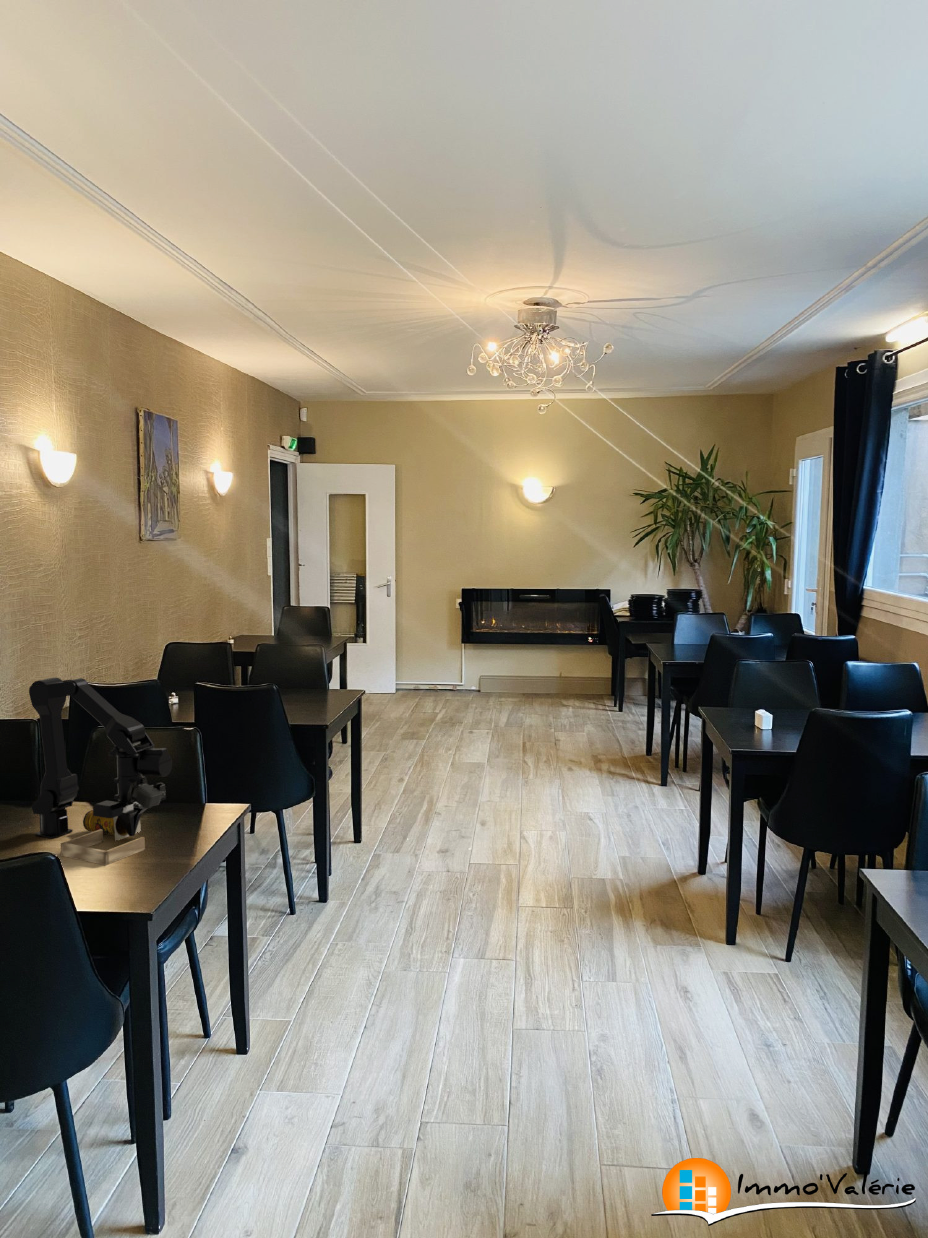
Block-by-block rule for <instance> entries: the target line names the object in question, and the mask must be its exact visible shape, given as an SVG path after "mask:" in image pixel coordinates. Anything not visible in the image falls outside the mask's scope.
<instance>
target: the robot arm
mask: <svg viewBox="0 0 928 1238" xmlns="http://www.w3.org/2000/svg"><path fill="white" fill-rule="evenodd" d="M28 694H29V699H30V703H31V706H32V708H33V709H34V710H35V711H36V713H37V714H38V715H39V722H40V731H41V738H42V741H41V742H42V747H43V748H42V750H43V757H44V765H45V766H44V768H45V773H44V776H43V778H42V781H41V783H40V796H38V798H37V799H36V800H35V801H34V802H33V803H32V805H31V809H32V812H33V814H34V815H39V831H37V832H35V833H34V836H37V837H42V838H46V839H47V838H48V839H55V838H58V837H60V836H64V835H67V834H70V833H73V830H74V829H73V828H69V818H68V817H69V816H68V810H67V808H69V807H72V806H73V803H74V799H75V798H76V797H77V796H78V790H80V787H79V784H78V778H79V777H78V774H77V773H71V771H70V770H69V768H68V764H67V756H66V755H67V753H66V747H65V746H66V745H65V739H64V738H65V737H64V727H63V719H62V717H63V716H62V712H63V710H64V707H65V704H66V701H67V697H71V698H73V700H74V701H75V702H76V703H77V704H79V705H80V707H82V708H83V709H84V710H85V711H87V713H89V714H90V716H92V717H93V718H94V719H95V720H96V721H97V722H99V724H100V725H101V726H102V727H103V728H104V730H105V733H106V736H107V738H108V739H109V740H110V742H111V743H112V744H113V745H114V747H113V749H112V750H110V752H108V756H110V757H116V769H117V770H116V771H117V772H116V773H117V777H116V778H113V783H114V784H117V794H114V797H113V798H114V800H117V801H112V800H108V799H107V800H103V801H101V802H98V803H95V804H94V806H93V807H92V810H93V816H98V817H104V818H114V817H118V818H119V819H120V821H121V822H122V824H123V826H124V828H125V830H126V831H127V833H128V835H129V836H128V837H133V836H135V835H136V834H135V832H136V829H137V826H138V823H139V820H140V821H141V817H142V815H143V813H144V812H145V811H146V810H147V809H151V808H152V807H155V806H159V805H160V803H161V802H162V801H164V800H167V791H166V790H167V789H166V784H164V782H158V783H156V784H151V785H150V784H148V779H147V776H150V777H162V778H163V777H168V776H169V775H170V773H171V771H172V768H173V763H174V761H173V759H172V757H171V755H170V753H169V752H168V749H167V748H166V747H161V748H158V747H157V748H156V746H155V744H154V743H153V740H151V738H150V736H149V735H148V733H147V732H146V728H145V726H144V725H143V723H141V722H139V721H138V720H137V719H135V718H134V717H132V716H129V715H126V714H123V713H121V712H120V711H118V710H117V709H116V708H115V707H114V705H112V704H111V703H109V702H108V701H107V700H106V699H105V697H103V696H101V695H100V694H99V692H97V691H96V690H95V689H94V688H93V687H92V686H91V685H89V682H88V681H87V680H86V679H85V678H81V677H80V678H74V679H65V680H62V679H61V678H59V677H57V676H56V677H54V676H53V677H50V678H45V679H39V680H36V681H34V682H33V683H32V684H31V685H30V686H29V688H28Z"/></svg>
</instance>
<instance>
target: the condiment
mask: <svg viewBox="0 0 928 1238" xmlns="http://www.w3.org/2000/svg"><path fill="white" fill-rule="evenodd" d="M82 823H83V824H82V826H83V827H84V830H86V831H88V832H94V831H97V830H100V829H102V830H103V835H109V836H110V835H111V836H114V841H115V842H117V841H116V840H118V841H120V839H121V840H123V839H126V838H128V837H130V836H129V835H128V833H127V831H126V830H125V828H124V826H123V824H122V822H121V821H120V819H119V818H118V817H114V818H104V817H98V816H93V809H91V810H89V811H87V812H86V813H85V815H84V816H83V819H82ZM141 827H142V826H141V819H140V820H139V823H138V826H137V829H136V832H135V835H136V834H138V833H141V832H142V830H141V829H142V828H141ZM140 831H141V832H140ZM137 832H138V833H137Z"/></svg>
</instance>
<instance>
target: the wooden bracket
mask: <svg viewBox="0 0 928 1238" xmlns="http://www.w3.org/2000/svg"><path fill="white" fill-rule="evenodd" d="M102 841H103V842H104V834H103V830H102V829H100V830H97V831H94V832H93V831H90V832H88V833H85V834H84V835H80V836H78V837H77V836H76V837H74V838H71V839H69V840H66V841H64V842H61V843H60V856H61V857H66V858H70V859H75V860H79V861H85V862H88V863H89V862H90V863H94V864H100V865H104V866H108V865H111V864H113V863H115V862H118V861H120V860H122V859H125V858H127V857H130V856H132V855H135V854H137V853H140V852H143V851H144V850H146V841H145V836H141V837H138V838H136V839H133V840H130V841H128V842H125V843H123V844H120V845H118V846H115V847H112V848H110V849H108V850H104V849H99V848H93V846H95V845H98V844H100V843H103V842H102Z"/></svg>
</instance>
